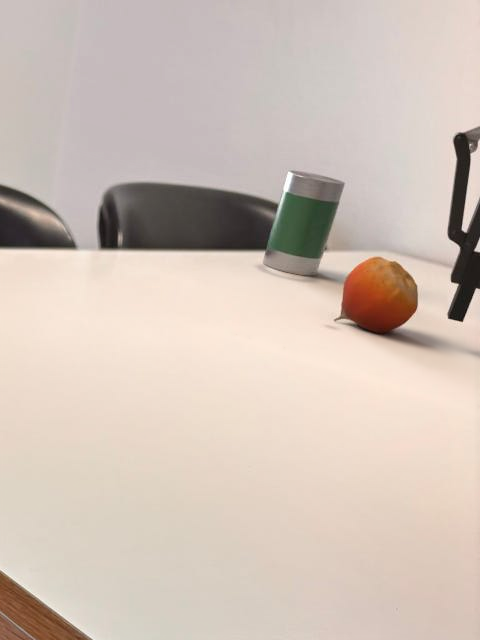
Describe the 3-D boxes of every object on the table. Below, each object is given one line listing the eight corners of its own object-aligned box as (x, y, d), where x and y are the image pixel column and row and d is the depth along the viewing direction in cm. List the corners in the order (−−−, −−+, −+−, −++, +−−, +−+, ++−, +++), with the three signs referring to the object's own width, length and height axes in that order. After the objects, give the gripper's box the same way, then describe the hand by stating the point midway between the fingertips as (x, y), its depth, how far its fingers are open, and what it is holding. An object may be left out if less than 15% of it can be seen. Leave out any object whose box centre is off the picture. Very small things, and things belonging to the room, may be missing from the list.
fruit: (331, 294, 119) (389, 240, 114) (377, 348, 118) (437, 296, 114) (311, 303, 113) (371, 246, 108) (360, 360, 112) (423, 305, 107)
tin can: (318, 270, 140) (346, 181, 134) (314, 279, 134) (344, 186, 128) (265, 257, 141) (290, 168, 135) (259, 265, 135) (285, 172, 129)
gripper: (484, 50, 97) (391, 309, 109) (634, 79, 95) (522, 341, 107) (479, 51, 104) (392, 296, 116) (620, 79, 101) (515, 326, 113)
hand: (454, 317), depth 111 cm, fingers closed
